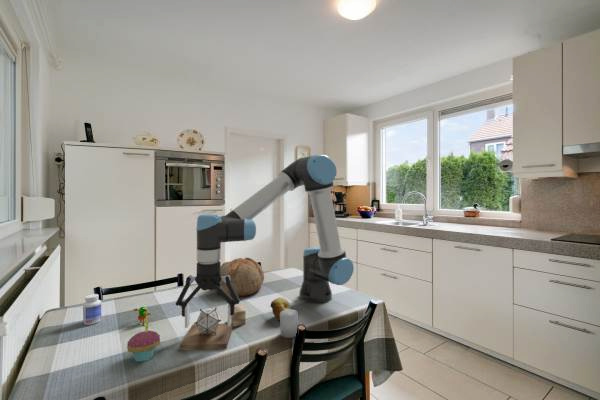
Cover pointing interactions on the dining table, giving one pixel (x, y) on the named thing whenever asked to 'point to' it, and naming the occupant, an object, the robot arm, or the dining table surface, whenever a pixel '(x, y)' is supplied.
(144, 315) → the toy character
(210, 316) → the game die
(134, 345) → the cupcake
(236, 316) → the beech block
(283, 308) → the fruit
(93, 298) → the pill bottle
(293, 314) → the white rounded cylinder
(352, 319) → the dining table surface
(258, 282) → the bread
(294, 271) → the dining table surface
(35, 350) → the dining table surface
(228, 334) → the board
